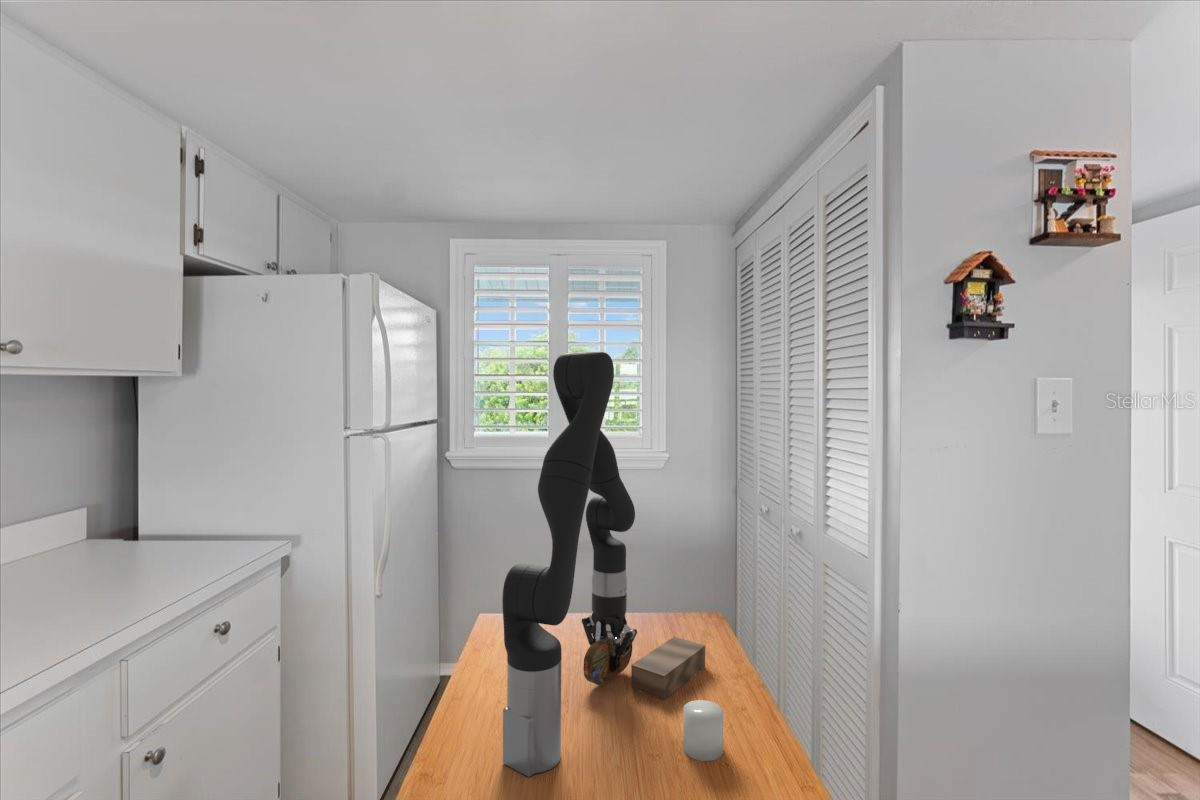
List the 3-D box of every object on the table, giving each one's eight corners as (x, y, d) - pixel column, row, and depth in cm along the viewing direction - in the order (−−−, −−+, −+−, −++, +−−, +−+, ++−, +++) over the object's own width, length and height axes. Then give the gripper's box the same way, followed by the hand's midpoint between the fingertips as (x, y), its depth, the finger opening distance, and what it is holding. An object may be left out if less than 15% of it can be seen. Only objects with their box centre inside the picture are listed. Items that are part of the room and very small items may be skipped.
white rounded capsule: (712, 766, 106) (712, 725, 106) (675, 751, 110) (676, 712, 110) (729, 746, 112) (730, 708, 111) (694, 733, 116) (694, 696, 115)
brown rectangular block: (663, 700, 127) (664, 676, 127) (631, 688, 132) (631, 664, 132) (704, 667, 142) (705, 645, 141) (674, 657, 146) (674, 636, 146)
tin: (591, 691, 128) (593, 651, 128) (579, 686, 130) (581, 646, 130) (632, 665, 140) (634, 629, 140) (621, 661, 142) (623, 624, 142)
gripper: (573, 587, 136) (572, 666, 136) (626, 601, 127) (625, 685, 128) (594, 578, 142) (593, 654, 142) (646, 591, 133) (645, 672, 134)
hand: (608, 668), depth 135 cm, fingers closed on tin, 2 cm apart
